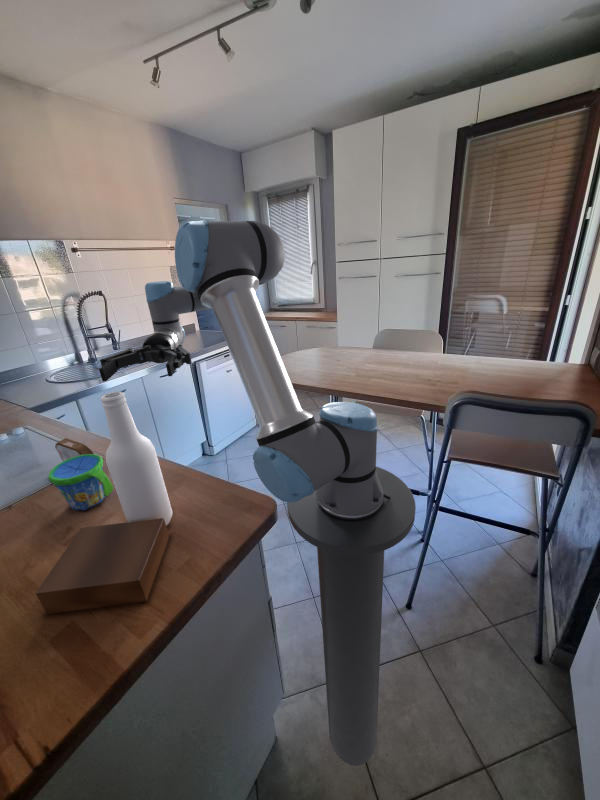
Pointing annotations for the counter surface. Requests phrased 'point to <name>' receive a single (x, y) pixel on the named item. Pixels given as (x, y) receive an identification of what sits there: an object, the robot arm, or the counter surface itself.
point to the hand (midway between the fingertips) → (135, 372)
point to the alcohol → (134, 465)
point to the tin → (71, 449)
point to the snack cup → (81, 481)
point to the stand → (106, 567)
